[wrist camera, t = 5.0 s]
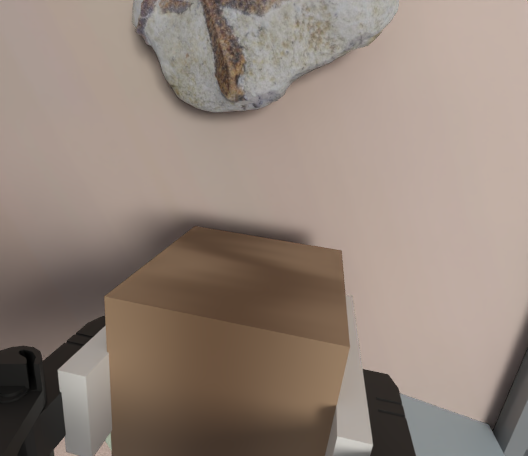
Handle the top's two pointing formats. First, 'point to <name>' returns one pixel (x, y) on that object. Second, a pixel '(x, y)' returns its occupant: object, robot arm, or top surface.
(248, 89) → the stone
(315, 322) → the block walnut
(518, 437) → the tray
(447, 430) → the block bluegrey
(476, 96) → the top surface
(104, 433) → the robot arm
